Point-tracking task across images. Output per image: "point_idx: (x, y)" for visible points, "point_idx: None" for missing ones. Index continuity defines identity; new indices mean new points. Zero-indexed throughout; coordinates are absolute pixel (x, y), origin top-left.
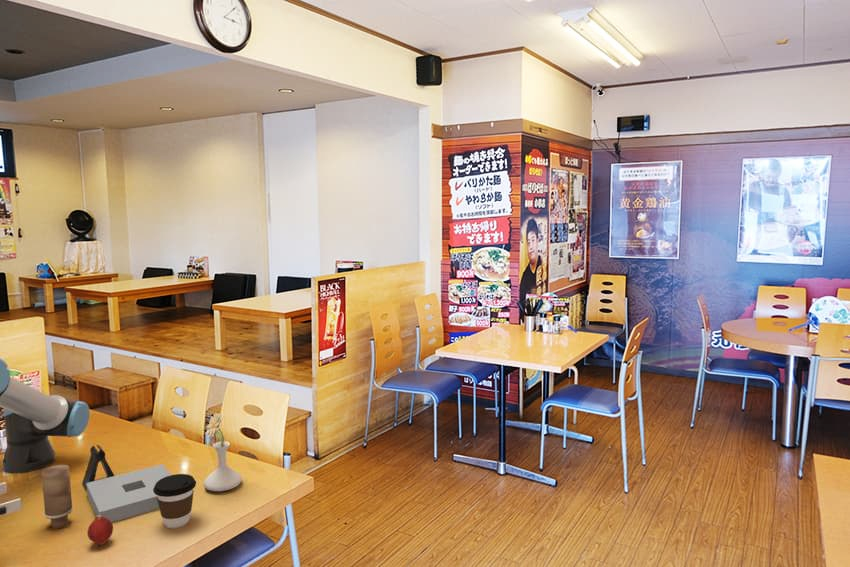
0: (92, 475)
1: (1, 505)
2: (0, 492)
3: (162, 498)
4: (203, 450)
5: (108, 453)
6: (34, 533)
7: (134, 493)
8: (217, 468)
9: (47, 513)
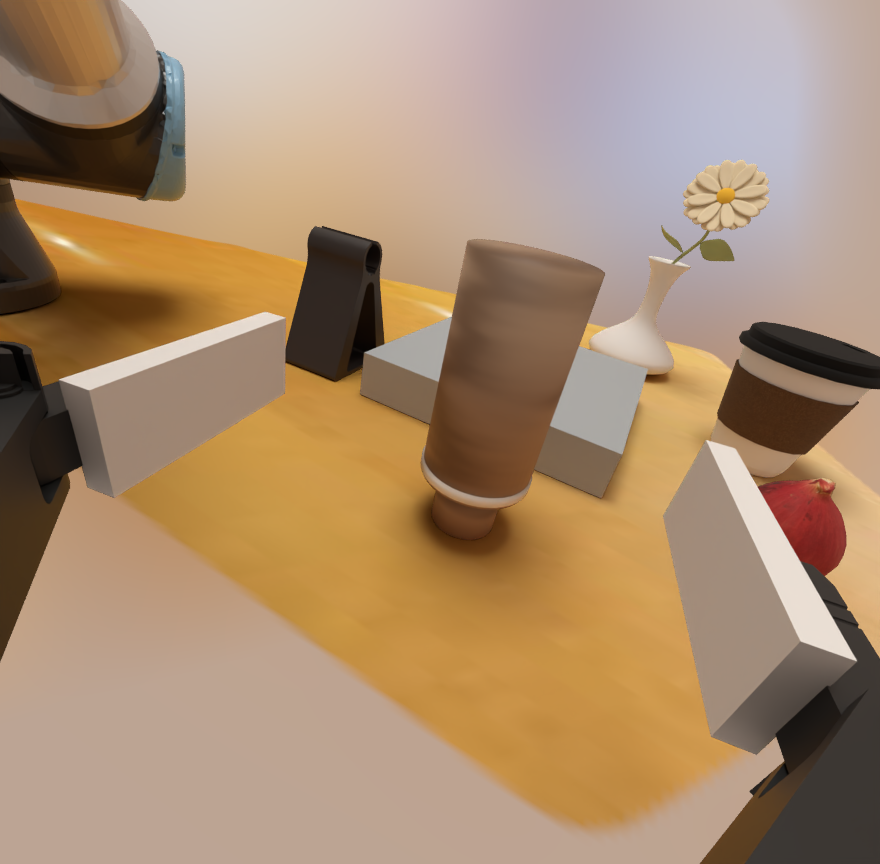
0: (351, 328)
1: (789, 554)
2: (259, 394)
3: (846, 395)
4: (436, 294)
5: (219, 284)
6: (428, 585)
7: (573, 383)
8: (642, 322)
9: (487, 488)
